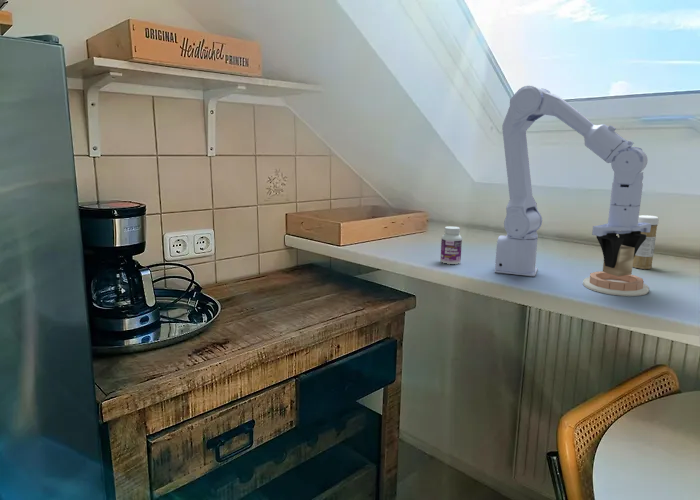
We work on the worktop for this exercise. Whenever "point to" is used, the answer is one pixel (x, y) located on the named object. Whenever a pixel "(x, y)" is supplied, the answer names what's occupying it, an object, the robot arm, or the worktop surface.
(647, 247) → the sprinkles bottle
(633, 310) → the worktop surface
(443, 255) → the pill bottle
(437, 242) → the worktop surface
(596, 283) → the collar dish
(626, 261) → the beige wooden block
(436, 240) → the worktop surface
